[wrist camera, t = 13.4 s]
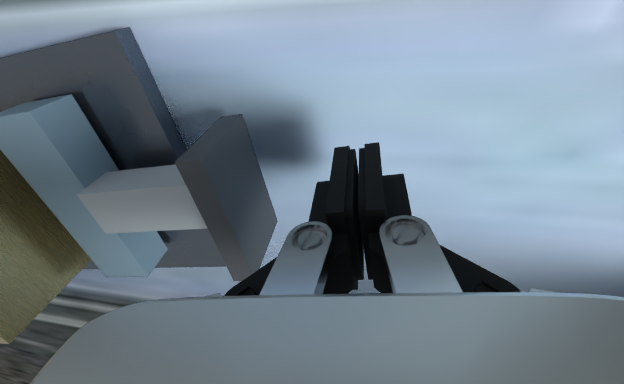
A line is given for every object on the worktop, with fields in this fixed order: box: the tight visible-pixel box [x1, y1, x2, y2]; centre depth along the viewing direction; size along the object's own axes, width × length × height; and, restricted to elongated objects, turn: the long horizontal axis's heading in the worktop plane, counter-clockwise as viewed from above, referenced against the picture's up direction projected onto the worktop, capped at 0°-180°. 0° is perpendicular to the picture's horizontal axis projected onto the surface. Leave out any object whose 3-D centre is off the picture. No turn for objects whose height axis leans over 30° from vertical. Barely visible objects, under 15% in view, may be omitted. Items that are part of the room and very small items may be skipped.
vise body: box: [0, 27, 226, 269], centre depth 18 cm, size 19×14×4 cm
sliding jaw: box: [0, 94, 277, 281], centre depth 15 cm, size 11×10×4 cm
